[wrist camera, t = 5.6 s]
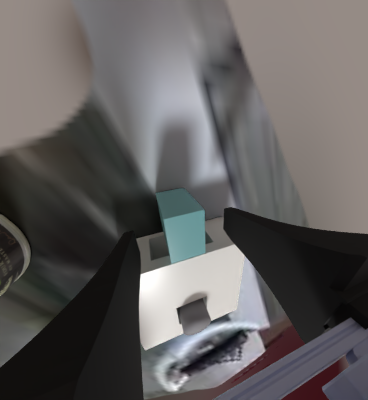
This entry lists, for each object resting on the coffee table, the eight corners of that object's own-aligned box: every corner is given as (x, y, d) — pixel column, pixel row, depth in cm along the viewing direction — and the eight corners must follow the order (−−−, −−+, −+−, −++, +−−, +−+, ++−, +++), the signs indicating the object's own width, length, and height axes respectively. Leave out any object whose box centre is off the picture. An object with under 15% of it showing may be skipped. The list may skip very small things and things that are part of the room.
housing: (219, 278, 22) (236, 309, 18) (144, 306, 19) (145, 350, 15) (221, 216, 16) (247, 240, 12) (119, 243, 14) (110, 283, 10)
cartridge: (192, 279, 19) (206, 317, 15) (173, 285, 18) (183, 328, 14) (183, 187, 13) (204, 209, 9) (155, 193, 12) (163, 219, 8)
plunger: (179, 314, 16) (184, 339, 14) (176, 300, 14) (181, 324, 12) (202, 304, 16) (211, 326, 14) (201, 290, 15) (211, 312, 13)
